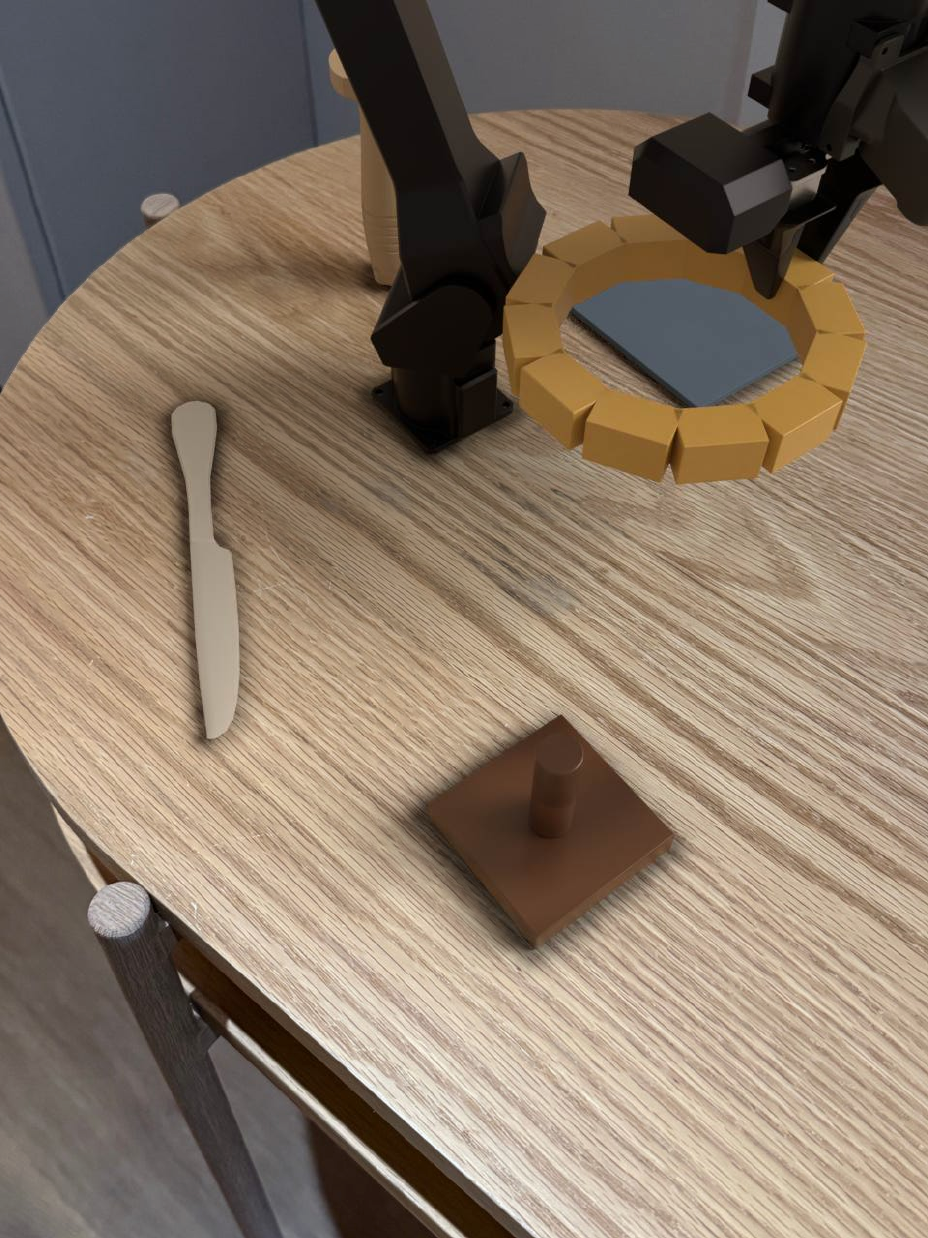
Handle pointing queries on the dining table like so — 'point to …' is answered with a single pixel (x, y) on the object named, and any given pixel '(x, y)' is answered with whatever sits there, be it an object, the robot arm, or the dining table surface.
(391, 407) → the robot arm
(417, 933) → the dining table surface
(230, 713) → the butter knife
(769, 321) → the mat
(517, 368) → the ring
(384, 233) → the handle
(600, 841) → the post
